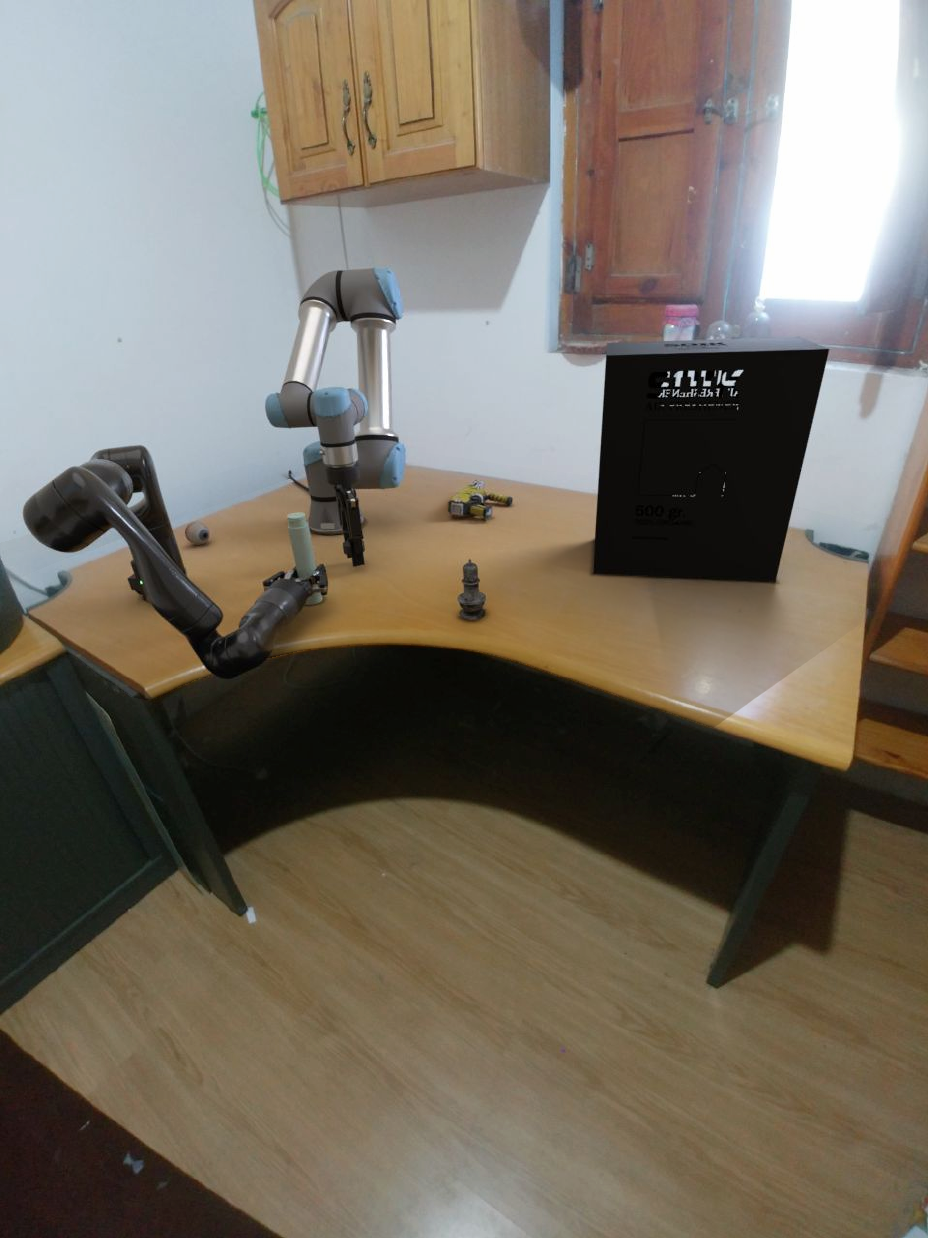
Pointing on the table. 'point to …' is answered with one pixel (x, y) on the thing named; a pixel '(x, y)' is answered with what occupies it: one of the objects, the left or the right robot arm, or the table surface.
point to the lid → (347, 547)
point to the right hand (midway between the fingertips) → (355, 560)
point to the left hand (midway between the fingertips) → (312, 567)
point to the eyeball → (197, 533)
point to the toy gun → (475, 501)
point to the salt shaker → (471, 594)
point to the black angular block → (703, 455)
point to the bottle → (302, 550)
